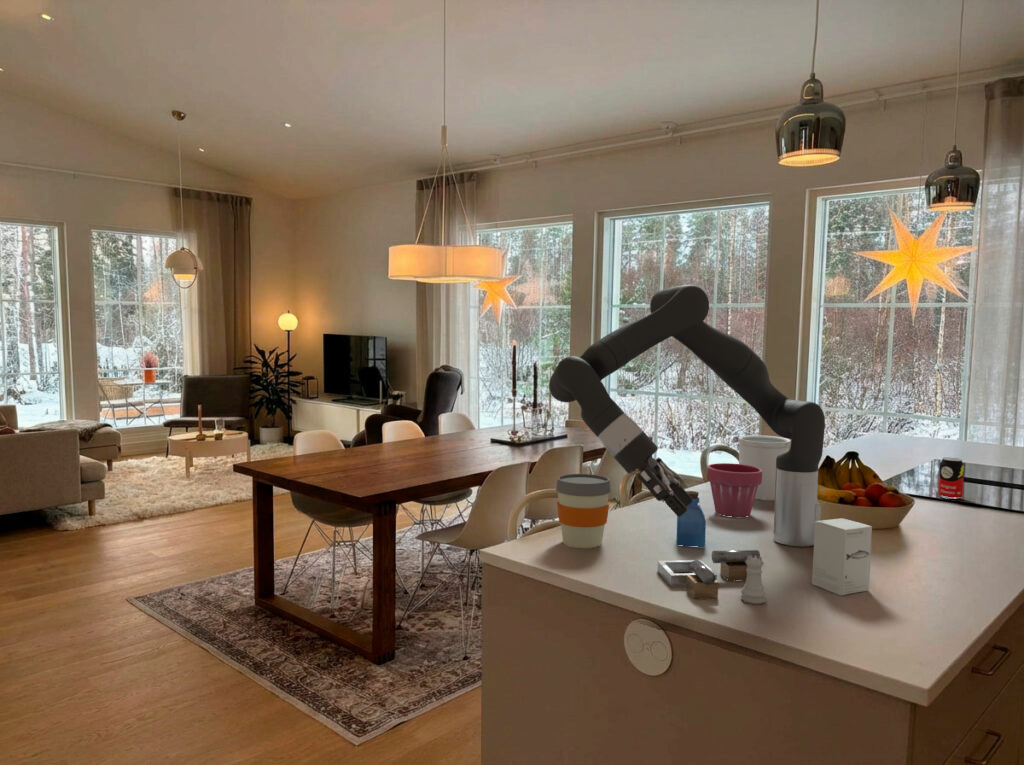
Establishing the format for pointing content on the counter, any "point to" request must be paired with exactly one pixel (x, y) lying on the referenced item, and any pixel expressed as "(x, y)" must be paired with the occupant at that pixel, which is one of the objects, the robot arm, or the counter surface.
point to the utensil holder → (763, 459)
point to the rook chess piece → (753, 582)
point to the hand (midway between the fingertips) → (686, 508)
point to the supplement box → (842, 556)
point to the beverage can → (951, 477)
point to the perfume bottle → (692, 524)
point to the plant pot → (734, 487)
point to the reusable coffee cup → (583, 508)
